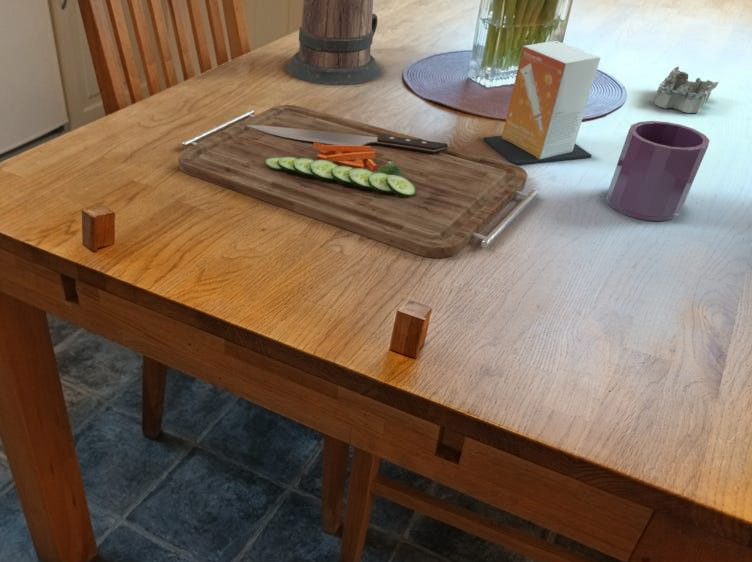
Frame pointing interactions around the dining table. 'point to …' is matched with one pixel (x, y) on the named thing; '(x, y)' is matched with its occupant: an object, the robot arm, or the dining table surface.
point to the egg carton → (683, 92)
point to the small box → (549, 98)
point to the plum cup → (656, 170)
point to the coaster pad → (523, 157)
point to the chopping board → (360, 177)
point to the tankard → (336, 42)
